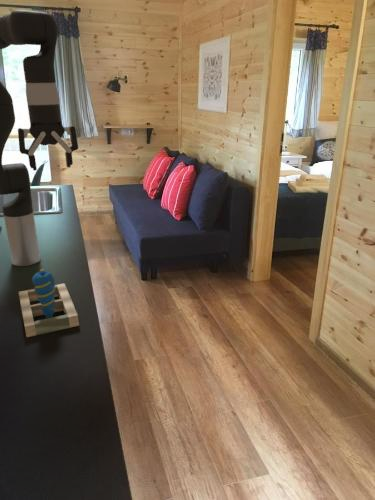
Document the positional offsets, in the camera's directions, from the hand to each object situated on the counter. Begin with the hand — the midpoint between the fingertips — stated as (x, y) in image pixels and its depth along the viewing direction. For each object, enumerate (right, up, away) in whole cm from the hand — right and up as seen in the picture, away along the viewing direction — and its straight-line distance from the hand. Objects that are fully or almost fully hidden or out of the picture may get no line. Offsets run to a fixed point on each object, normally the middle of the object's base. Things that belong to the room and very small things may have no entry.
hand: (52, 168), depth 110 cm
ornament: (0, -40, -2) cm, 40 cm away
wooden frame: (-2, -38, +2) cm, 38 cm away
